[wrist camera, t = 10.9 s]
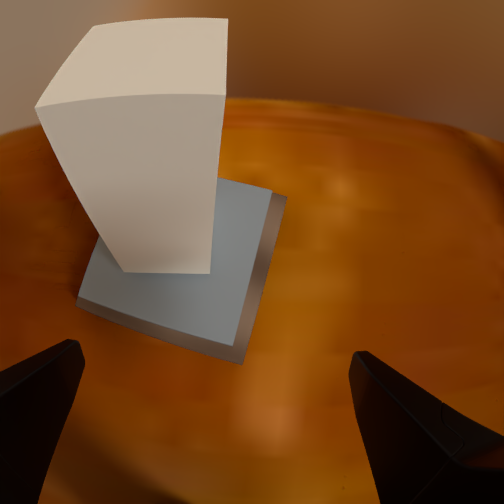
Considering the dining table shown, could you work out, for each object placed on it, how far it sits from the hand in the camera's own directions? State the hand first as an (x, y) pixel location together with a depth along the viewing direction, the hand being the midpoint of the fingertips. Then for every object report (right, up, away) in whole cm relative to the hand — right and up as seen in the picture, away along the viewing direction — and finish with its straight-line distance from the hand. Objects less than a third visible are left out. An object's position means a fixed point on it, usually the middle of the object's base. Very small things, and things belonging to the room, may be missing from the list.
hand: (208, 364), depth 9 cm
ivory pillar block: (-4, +4, +9) cm, 11 cm away
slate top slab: (-3, +3, +11) cm, 12 cm away
